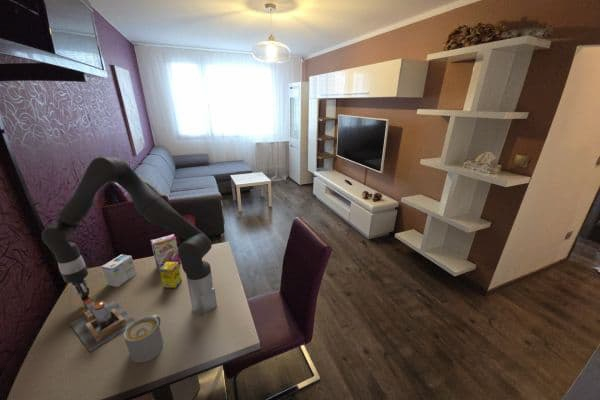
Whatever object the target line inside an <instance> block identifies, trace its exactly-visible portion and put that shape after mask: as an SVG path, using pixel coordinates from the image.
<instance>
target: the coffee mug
mask: <svg viewBox="0 0 600 400" xmlns="http://www.w3.org/2000/svg"><path fill="white" fill-rule="evenodd" d="M134 320H135V321H134V322H132V323H131V324H130V325H129V326H128V327H127V328H126V330H124V331H123V338H124V341H125V344H126V347H127V350H128V352H129V356H130V359H131V361H133V362H134V363H141V364H142V363H145V362H147V361H151V360H152V359H154V358H155V357H156V356H158V355H159V354H160V353H161V351H162V349H163V348H164V338H163V335H162V331H161V317H160V315H158V314H153V315H147V316H143V317H140V318H137V319H134Z"/></svg>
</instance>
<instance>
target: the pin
mask: <svg viewBox="0 0 600 400" xmlns="http://www.w3.org/2000/svg"><path fill="white" fill-rule="evenodd" d="M81 302H82V305H83V308H84V310H85V311H90V312H91V313H92V314H93V316H94V318H95V315H94V313H93V308H94V304H95V303H96V302H95V300H94V299H93V297H92V295H91V296H89V297H88V298H86V299H84V300H81ZM95 319H96V318H95Z"/></svg>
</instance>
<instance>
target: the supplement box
mask: <svg viewBox="0 0 600 400" xmlns="http://www.w3.org/2000/svg"><path fill="white" fill-rule="evenodd" d="M159 273H160V276H161V277H160V278H161V281H162V286H163V289H174V290H175V289H177V288H178V286H179V284H181V282H182V275H181V270H180V264H178V262H166V263H165V264H164V265H163V266H162V267H161V268H160V271H159Z"/></svg>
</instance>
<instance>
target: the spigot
mask: <svg viewBox="0 0 600 400" xmlns="http://www.w3.org/2000/svg"><path fill="white" fill-rule="evenodd" d="M94 303H95V304H94V308H93V313H94V315H95V318H96V320H97V323H98V326H99V328H100V331H101V330H103V329H104V328H106V327H108V326H109V325H111V324H113V323H114V321H113V318H112V316H111V313H110V310H109V307H108V304H109V303H107V302H105V301H104V300H100V301H97V302H94Z"/></svg>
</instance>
